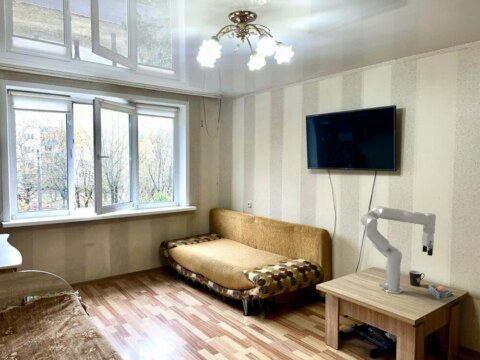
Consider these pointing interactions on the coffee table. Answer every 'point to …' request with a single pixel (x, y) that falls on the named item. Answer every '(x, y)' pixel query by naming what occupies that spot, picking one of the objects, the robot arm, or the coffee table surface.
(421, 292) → the coffee table surface
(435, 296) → the fence
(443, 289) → the ball
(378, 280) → the coffee table surface
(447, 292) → the dish
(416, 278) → the coffee mug
